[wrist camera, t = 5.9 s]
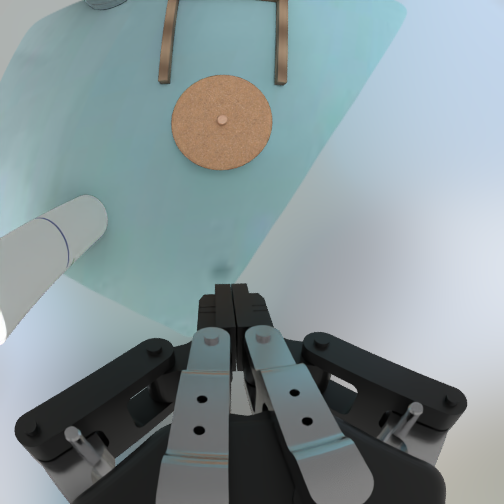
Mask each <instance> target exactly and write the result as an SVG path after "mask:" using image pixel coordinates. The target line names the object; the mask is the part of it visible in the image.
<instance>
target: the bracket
mask: <svg viewBox="0 0 504 504" xmlns="http://www.w3.org/2000/svg"><path fill="white" fill-rule="evenodd" d="M261 1H270V2H276V52H275V85H284V84H286V83H287V56H288V0H261ZM178 4H179V0H168V4H167V10H166V16H165V23H164V30H163V38H162V46H161V55H160V66H159V78H158V81H159V82H160V83H161V84H168V83H170V74H171V62H172V51H173V41H174V33H175V25H176V17H177V10H178Z"/></svg>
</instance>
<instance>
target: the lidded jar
mask: <svg viewBox="0 0 504 504" xmlns="http://www.w3.org/2000/svg"><path fill="white" fill-rule="evenodd" d="M171 125H172V133H173V137H174V140H175V142H176V145H177V146H178V148H179V149H180V151H181V152H182V153H183V154H184V155H185V156H186V157H187V158H188V159H189V160H190V161H192V162H193V163H195V164H197V165H199V166H201V167H204V168H208V169H212V170H229V169H234V168H237V167H240V166H243V165H245V164H246V163H248V162H250V161H251V160H253V159H254V158H255V157H256V156H257V155H258V154H259V153H260V152H261V151H262V150H263V148H264V147H265V146H266V144H267V142H268V140H269V137H270V134H271V130H272V113H271V109H270V106H269V104H268V101H267V100H266V98H265V96H264V95H263V94H262V92H261V91H260V90H259V89H258V88H257V87H256V86H254V85H253V84H252V83H250V82H248V81H247V80H244V79H242V78H239V77H235V76H230V75H215V76H211V77H207V78H204V79H201V80H199V81H198V82H196V83H194V84H193V85H191V86H190V87H189V88H187V89H186V91H185V92H184V93H183V94H182V95H181V96H180V98H179V99H178V101H177V103H176V105H175V107H174V110H173V114H172V121H171Z"/></svg>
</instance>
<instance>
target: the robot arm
mask: <svg viewBox="0 0 504 504" xmlns="http://www.w3.org/2000/svg"><path fill="white" fill-rule="evenodd" d="M84 1H85V2H86V3H87V4H88V5H89V6H90V7H92V8H94V9H98V10H103V9H109V8H112V7H115V6H117V5H119V4H121V3H123V2H125V1H126V0H84ZM236 363H237V370H238V371H243V372H244V387H245V391H246V395H247V398H248V402H249V406H250V409H251V413H252V415H250V416H244V415H237V414H231V382H232V379H233V377H232V371H236ZM331 374H332V375H334V376H336V377H338V378H340V379H342V380H344V381H346V382H348V383H350V384H352V385H353V386H354V387H355V388H356V389H357V392H358V393H356V392H354V391H352V390H350V389H348V388H346V387H344V386H342V385H340V384H338V383H336V382H334V381H332V380H330V377H331ZM145 387H147V388H145ZM144 388H145V389H144ZM143 389H144V390H143ZM141 390H143V391H141ZM140 391H141V392H140ZM138 392H140V393H139V394H137V393H138ZM136 394H137V395H136ZM134 395H136V396H134ZM133 396H134V397H133ZM132 397H133V398H132ZM130 398H132V399H130ZM466 407H467V399H466V397H465V395H464V394H463V393H462V392H461V391H460V390H459V389H457V388H454V387H452V386H449V385H446V384H444V383H441V382H439V381H437V380H434V379H431V378H429V377H427V376H424V375H422V374H419V373H417V372H414V371H412V370H410V369H407V368H405V367H403V366H400V365H398V364H395V363H393V362H391V361H388V360H386V359H384V358H382V357H379V356H377V355H375V354H372V353H370V352H368V351H365V350H363V349H361V348H359V347H357V346H354V345H352V344H350V343H348V342H346V341H343V340H341V339H339V338H337V337H334V336H333V335H330V334H327V333H324V332H314V333H310V334H308V335H307V336H306V337H305V338H304V340H303V342H301V341H293V340H288V339H285V338H283V337H282V335H281V333H280V332H279V330H277V329H276V328H274V326H273V323H272V321H271V318H270V315H269V312H268V309H267V306H266V303H265V300H264V298H263V297H262V296H261V295H259V294H258V293H249V292H248V287H247V284H246V283H245V284H231V287H230V284H215V294H208V295H203V296H202V298H201V299H200V300H199V310H198V324H197V332H196V333H195V334H194V336H193V339H192V341H190V342H189V343H187V344H184V345H180V346H176V347H173V346H172V344H171V343H170V342H169V341H167V340H165V339H161V338H152V339H148V340H145V341H143V342H142V343H140V344H138V345H137V346H135V347H134V348H132V349H130V350H129V351H127V352H126V353H124V354H123V355H121V356H119V357H118V358H116V359H115V360H113V361H111V362H110V363H108V364H106V365H105V366H103V367H102V368H100V369H98V370H97V371H95V372H93V373H92V374H90V375H89V376H87V377H85V378H84V379H82V380H80V381H79V382H77V383H75V384H74V385H72V386H71V387H69V388H67V389H66V390H64V391H62V392H61V393H59V394H57V395H56V396H54V397H52V398H51V399H49V400H47V401H46V402H44V403H42V404H41V405H39V406H37V407H35V408H34V409H32V410H30V411H29V412H27V413H25V414H24V415H22V416H21V417H20V418H19V419H18V420H17V422H16V425H15V436H16V438H17V440H18V441H19V442H20V443H21V444H22V445H23V446H24V447H25V449H27V451H28V452H29V453H30V454H31V456H32V457H33V458H34V459H35V460H36V461H37V462H38V463H40V464H41V465H42V466H43V467H44V469H45V470H46V472H47V473H48V475H49V476H50V478H51V479H52V480H53V482H54V483H55V485H56V486H57V487H58V489H59V490H60V491H61V493H62V494H63V495H64V497H65V498H66V499H67V500H68V501H69V503H70V504H445V499H446V486H445V482H444V479H443V477H442V475H441V473H440V472H439V471H438V470H437V469H436V468H435V467H434V466H435V464H436V462H437V459H438V456H439V454H440V452H441V449H442V446H443V444H444V441H445V438H446V435H447V432H448V431H449V430H450V429H451V427H452V426H453V425H454V424H455V422H456V421H457V420H458V419H459V417H460V416H461V415H462V414H463V412H464V411H465V409H466ZM173 411H174V412H173ZM172 412H173V418H172V423H171V424H169V425H167V426H165V427H163V428H161V429H159V430H158V431H156V432H155V433H154V434H153V435H152V436H150V437H149V438H148V439H147V440H146V441H145V442H144V443H143V444H141V445H140V446H139V447H138V448H137V449H136V450H135V451H134V452H132V453H131V454H130V455H129V456H128V457H126V458H125V459H124V460H123V461H122V462H120V463H119V464H118V465H117V466H116V467H115V458H116V457H118V456H119V455H120V454H122V453H123V452H124V451H125V450H127V449H128V448H129V447H130V446H132V445H133V444H134V443H136V442H137V441H138V440H139V439H141V438H142V437H143V436H144V435H145V434H147V433H148V432H149V431H151V430H152V429H153V428H154V427H155V426H157V425H158V424H159V423H160V422H161V421H163V420H164V419H165V418H166V417H167V416H168V415H169V414H171V413H172Z"/></svg>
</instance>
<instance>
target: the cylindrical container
mask: <svg viewBox="0 0 504 504" xmlns="http://www.w3.org/2000/svg"><path fill="white" fill-rule="evenodd" d="M107 223H108V217H107V212H106V209H105V207H104V206H103V204H102V203H101V202H100V200H98V199H97V198H95V197H93V196H90V195H82V196H79V197H77V198H75V199H73V200H71V201H68V202H66V203H64V204H62V205H60V206H58V207H56V208H54V209H52V210H50V211H48V212H46V213H44V214H42V215H40V216H38V217H37V218H35V219H33V220H31V221H29V222H27V223H26V224H24V225H22V226H20V227H18V228H17V229H15V230H13V231H11V232H10V233H8V234H6V235H5V236H3V237H1V238H0V345H1V344H3V343H4V342H5V341H6V339H7V338H8V336H9V335H10V334H11V333H12V331H13V330H14V329H15V328H16V326H17V325H18V324H19V323H20V321H21V320H22V319H23V318H24V316H25V315H26V314H27V313H28V312H29V311H30V309H31V308H32V307H33V306H34V305H35V304H36V302H37V301H38V300H39V299H40V298H41V297H42V296H43V294H44V293H45V292H46V291H47V290H48V289H49V288H50V287H51V286H52V284H54V282H55V281H56V280H57V279H58V278H59V277H60V276H61V275H62V274H63V273H64V272H65V271H66V270H67V269H68V268H69V267H70V266H71V265H72V264H73V263H74V262H75V261H76V260H77V259H78V258H79V257H80V256H81V255H82V254H83V253H84V252H85V251H86V250H87V249H88V248H89V247H91V246H92V245H93V244H94V243H95V242H96V241H97V240H98V239H99V238H100V237H101V236H102V235H103V234H104V232H105V231H106V228H107Z"/></svg>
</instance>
